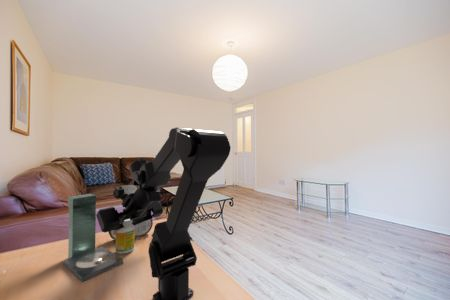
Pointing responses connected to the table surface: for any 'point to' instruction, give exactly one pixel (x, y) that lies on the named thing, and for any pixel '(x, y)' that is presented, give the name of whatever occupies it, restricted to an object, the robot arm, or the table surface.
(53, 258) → the table surface
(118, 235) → the supplement bottle
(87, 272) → the stand
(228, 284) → the table surface
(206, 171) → the robot arm
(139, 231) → the tin
